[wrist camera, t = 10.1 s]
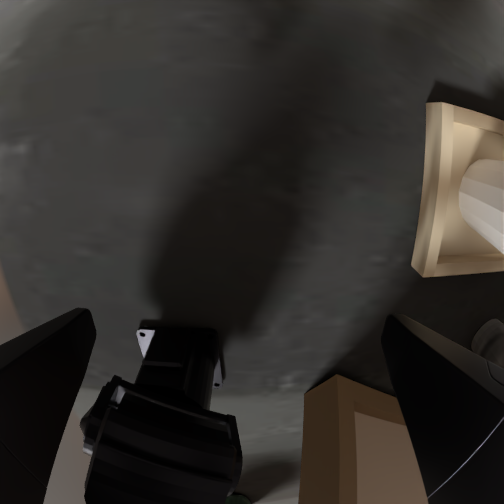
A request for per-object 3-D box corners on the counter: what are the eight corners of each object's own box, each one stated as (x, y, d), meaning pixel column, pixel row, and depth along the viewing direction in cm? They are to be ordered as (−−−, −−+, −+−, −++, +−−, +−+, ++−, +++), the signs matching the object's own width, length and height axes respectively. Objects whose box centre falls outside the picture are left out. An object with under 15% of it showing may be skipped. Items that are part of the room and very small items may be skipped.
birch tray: (507, 260, 21) (520, 269, 19) (410, 265, 21) (422, 277, 19) (525, 133, 16) (540, 136, 14) (426, 103, 16) (441, 102, 14)
